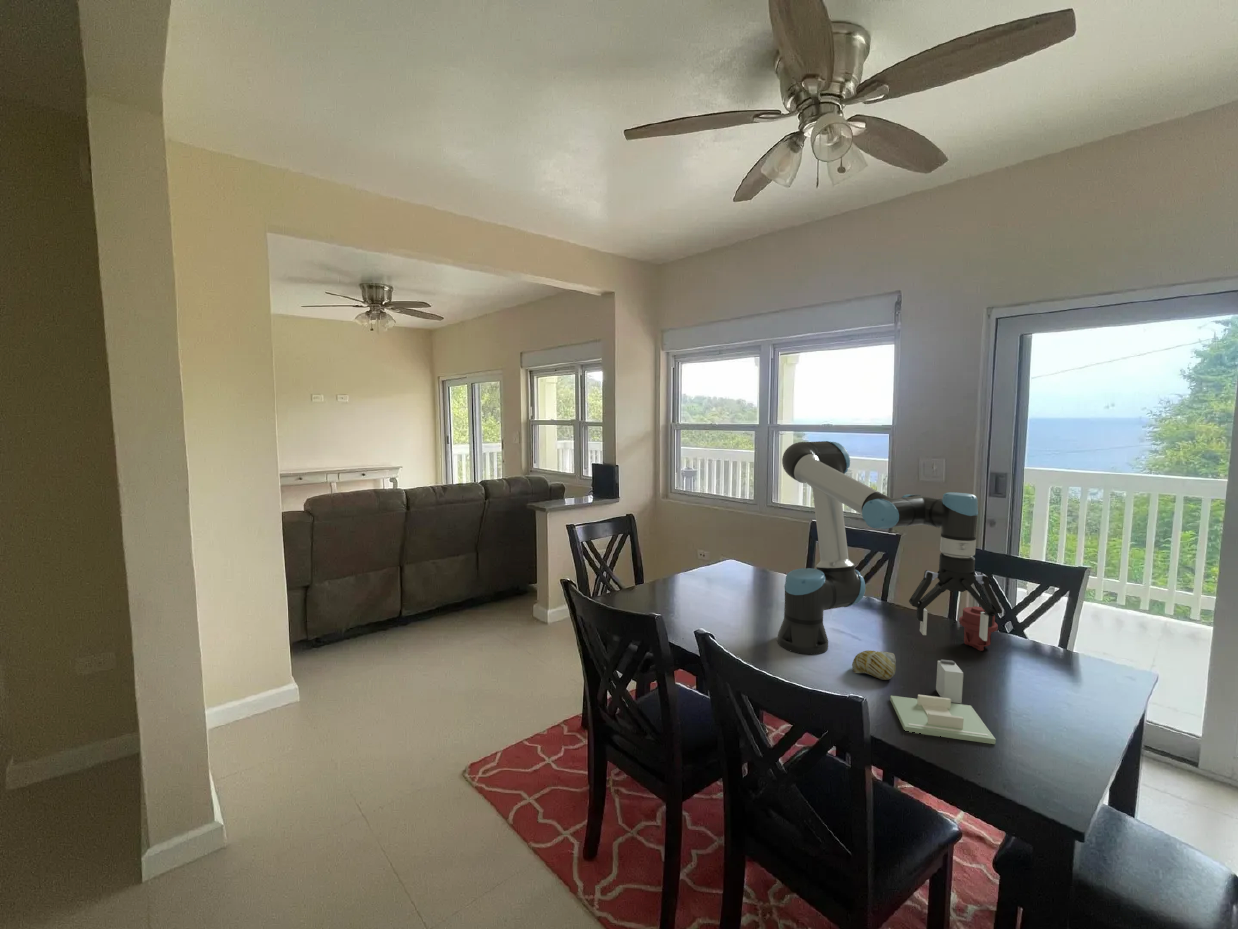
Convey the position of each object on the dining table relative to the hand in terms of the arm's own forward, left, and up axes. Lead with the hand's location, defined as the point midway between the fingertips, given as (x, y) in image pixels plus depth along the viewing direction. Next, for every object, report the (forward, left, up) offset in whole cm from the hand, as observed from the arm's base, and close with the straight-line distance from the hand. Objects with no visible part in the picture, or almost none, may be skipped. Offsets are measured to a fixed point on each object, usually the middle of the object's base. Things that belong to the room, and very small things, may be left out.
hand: (952, 636), depth 134 cm
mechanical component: (+19, +36, -16) cm, 44 cm away
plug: (0, 0, -16) cm, 16 cm away
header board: (-6, -13, -16) cm, 21 cm away
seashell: (-16, +7, -16) cm, 24 cm away
